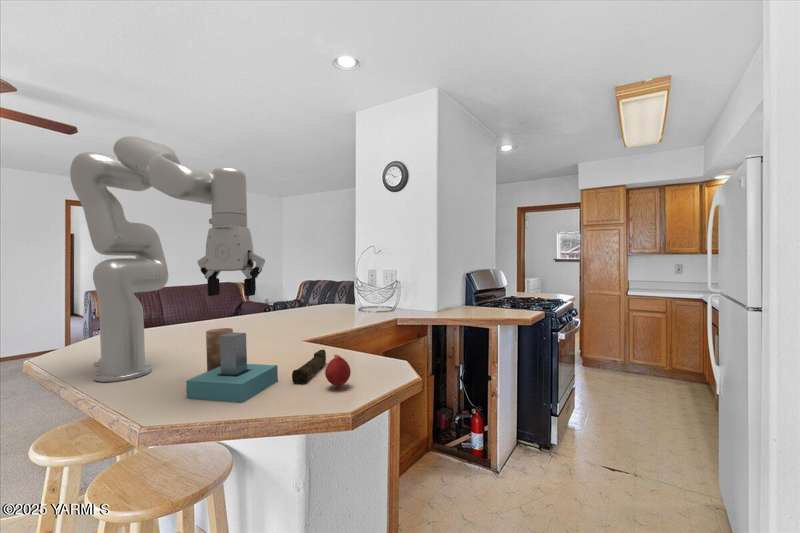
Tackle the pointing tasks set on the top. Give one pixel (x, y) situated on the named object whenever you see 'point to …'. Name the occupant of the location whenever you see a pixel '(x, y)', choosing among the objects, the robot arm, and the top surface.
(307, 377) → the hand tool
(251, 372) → the socket block
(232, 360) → the square peg
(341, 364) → the onion
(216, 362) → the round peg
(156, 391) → the top surface
